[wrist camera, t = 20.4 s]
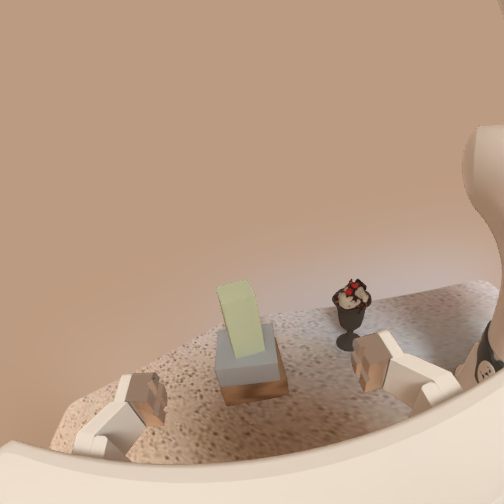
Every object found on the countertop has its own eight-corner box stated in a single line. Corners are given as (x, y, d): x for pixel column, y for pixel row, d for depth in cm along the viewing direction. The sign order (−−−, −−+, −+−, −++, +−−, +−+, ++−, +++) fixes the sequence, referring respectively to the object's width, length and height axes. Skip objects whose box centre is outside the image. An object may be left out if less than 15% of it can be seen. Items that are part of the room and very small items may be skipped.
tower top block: (275, 340, 49) (272, 323, 47) (280, 380, 40) (277, 362, 39) (223, 347, 49) (218, 330, 47) (220, 386, 41) (214, 370, 39)
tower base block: (277, 354, 51) (275, 336, 49) (288, 395, 42) (286, 378, 40) (224, 364, 51) (218, 347, 49) (227, 406, 42) (220, 390, 40)
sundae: (339, 359, 47) (342, 288, 41) (327, 335, 53) (325, 267, 47) (372, 348, 47) (380, 278, 41) (358, 326, 53) (361, 259, 47)
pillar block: (256, 332, 45) (246, 279, 41) (265, 350, 41) (255, 295, 37) (229, 340, 45) (215, 287, 40) (236, 359, 40) (221, 304, 36)
